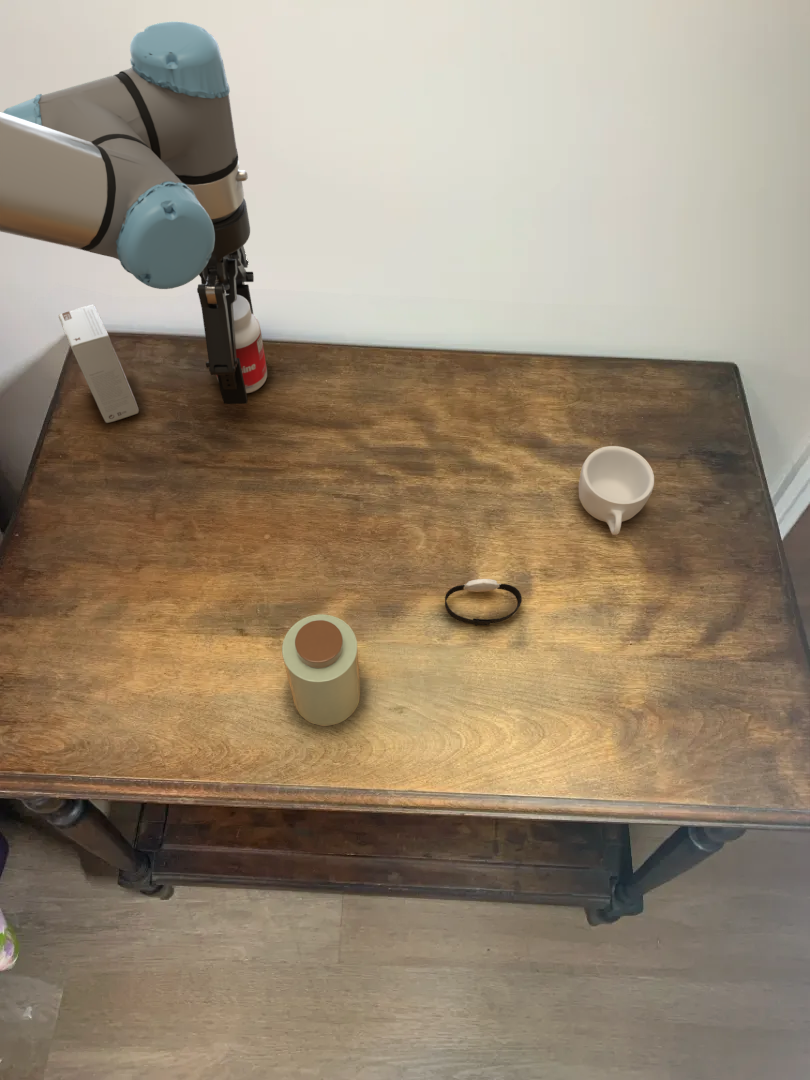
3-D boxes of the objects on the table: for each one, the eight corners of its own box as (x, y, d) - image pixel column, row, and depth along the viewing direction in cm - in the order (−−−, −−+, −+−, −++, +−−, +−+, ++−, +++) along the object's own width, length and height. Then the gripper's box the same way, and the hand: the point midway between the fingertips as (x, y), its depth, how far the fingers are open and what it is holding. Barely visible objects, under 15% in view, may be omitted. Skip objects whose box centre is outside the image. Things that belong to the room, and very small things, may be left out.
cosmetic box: (141, 413, 97) (112, 335, 87) (104, 425, 96) (70, 348, 85) (126, 379, 100) (96, 300, 90) (90, 391, 99) (56, 313, 88)
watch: (516, 587, 84) (520, 569, 81) (521, 628, 82) (526, 610, 79) (442, 590, 84) (444, 571, 81) (445, 630, 81) (447, 613, 78)
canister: (291, 726, 75) (278, 676, 66) (294, 663, 79) (282, 607, 70) (360, 725, 76) (356, 675, 66) (360, 662, 79) (357, 606, 70)
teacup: (572, 473, 93) (581, 443, 88) (639, 479, 93) (652, 449, 88) (573, 546, 87) (583, 517, 83) (645, 552, 87) (659, 524, 82)
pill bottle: (213, 394, 99) (195, 323, 89) (222, 359, 102) (206, 287, 93) (264, 397, 99) (251, 327, 89) (271, 361, 102) (260, 290, 93)
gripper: (234, 281, 74) (264, 438, 92) (254, 135, 87) (277, 298, 105) (151, 281, 74) (197, 439, 92) (184, 135, 87) (219, 298, 105)
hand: (240, 364), depth 98 cm, fingers open, 12 cm apart
